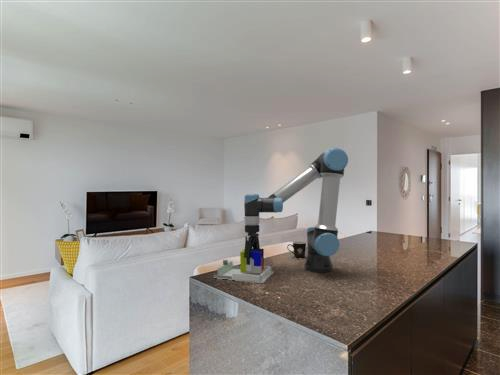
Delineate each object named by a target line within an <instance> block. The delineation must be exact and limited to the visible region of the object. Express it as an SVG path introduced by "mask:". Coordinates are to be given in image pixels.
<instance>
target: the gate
mask: <svg viewBox="0 0 500 375" xmlns="http://www.w3.org/2000/svg"><path fill="white" fill-rule="evenodd" d="M233 263H234V262H233V260H228V259H223V260H222V265H220V266H219V267H217V275H222V274H224V273H226V272H227V271H229V270H230V269H232V268H233V266H234V265H233Z"/></svg>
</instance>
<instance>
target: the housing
mask: <svg viewBox="0 0 500 375" xmlns="http://www.w3.org/2000/svg"><path fill="white" fill-rule="evenodd" d="M274 273H275V272H274V271H273V267H272V266H269V265H264V269H263V270H262V272H261V273H242V272H241V266H235V265H233V268H232V269H230V270H229V271H227V272H226V273H224V274H222V275H218V274H213V279H214V278H217V279H216V280H222V279H228V280H227V281H232V280H235V282H243V281H244V282H245V283H256V284H265V282H266V281H268V279H269V278H271V276H273V274H274Z"/></svg>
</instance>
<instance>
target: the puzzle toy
mask: <svg viewBox="0 0 500 375" xmlns="http://www.w3.org/2000/svg"><path fill="white" fill-rule="evenodd" d="M244 251H245V248H243V250H241V251H240V252H239V253H240V257H239V258H240V262H239V263H240V267H241V272H242V273H261V272H262V270H263V269H264V266H265V259H264V258H265V256H264V254H265V253H264V248H260V249H253V248H252V252H251V258H252V271H246V258H244Z"/></svg>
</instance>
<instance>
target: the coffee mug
mask: <svg viewBox="0 0 500 375" xmlns="http://www.w3.org/2000/svg"><path fill="white" fill-rule="evenodd" d="M289 246H291V247H292V248H293V251H292V250H291V249H289ZM286 248H287V250H288V251H289V252H290V253H292V254H293V255H294V258H295V257H296V258H305V259H306V249H307V242H305V241H293V242H292V244H288V245H287V247H286Z"/></svg>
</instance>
